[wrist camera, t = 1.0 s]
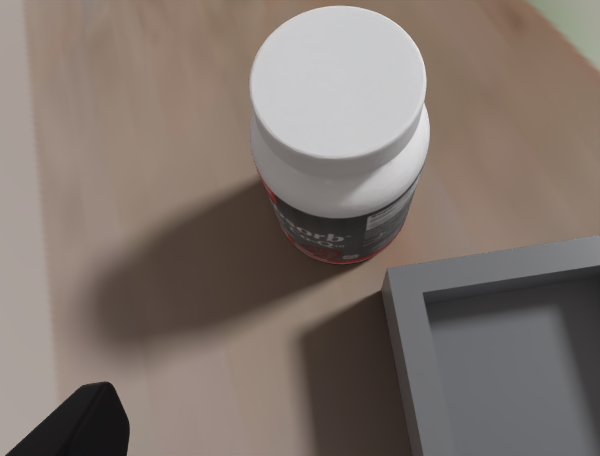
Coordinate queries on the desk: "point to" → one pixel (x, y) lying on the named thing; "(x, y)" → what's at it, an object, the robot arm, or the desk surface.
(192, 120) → the desk surface
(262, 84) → the pill bottle
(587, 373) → the bottle holder
